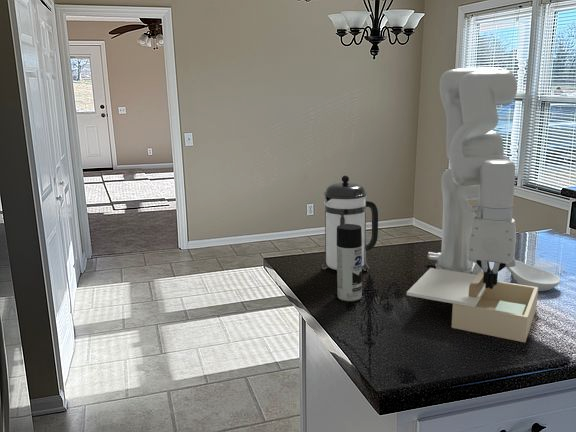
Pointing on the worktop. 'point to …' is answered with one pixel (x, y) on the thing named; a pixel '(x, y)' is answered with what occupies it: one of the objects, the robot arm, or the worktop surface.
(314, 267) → the worktop surface
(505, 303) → the box
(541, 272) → the spoon rest
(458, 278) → the lid
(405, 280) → the worktop surface
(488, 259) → the robot arm
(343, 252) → the spray can
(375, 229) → the coffee press
